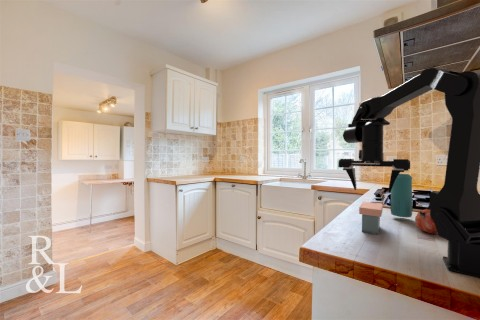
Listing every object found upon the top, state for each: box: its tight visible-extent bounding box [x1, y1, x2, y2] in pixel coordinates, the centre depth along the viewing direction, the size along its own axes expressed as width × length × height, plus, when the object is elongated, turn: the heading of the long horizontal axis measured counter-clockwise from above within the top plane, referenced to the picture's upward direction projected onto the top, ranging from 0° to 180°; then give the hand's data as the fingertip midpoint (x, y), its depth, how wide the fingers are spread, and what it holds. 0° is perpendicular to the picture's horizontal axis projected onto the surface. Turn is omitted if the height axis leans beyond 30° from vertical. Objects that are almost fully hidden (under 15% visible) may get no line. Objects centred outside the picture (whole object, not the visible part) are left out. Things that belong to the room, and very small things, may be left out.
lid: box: [358, 201, 384, 218], centre depth 69 cm, size 10×6×3 cm, turn 145°
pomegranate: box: [414, 208, 438, 235], centre depth 66 cm, size 7×7×10 cm
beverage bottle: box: [389, 169, 414, 218], centre depth 80 cm, size 6×7×20 cm
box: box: [361, 214, 381, 236], centre depth 69 cm, size 9×4×6 cm, turn 145°
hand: (371, 191), depth 69 cm, fingers open, 9 cm apart
